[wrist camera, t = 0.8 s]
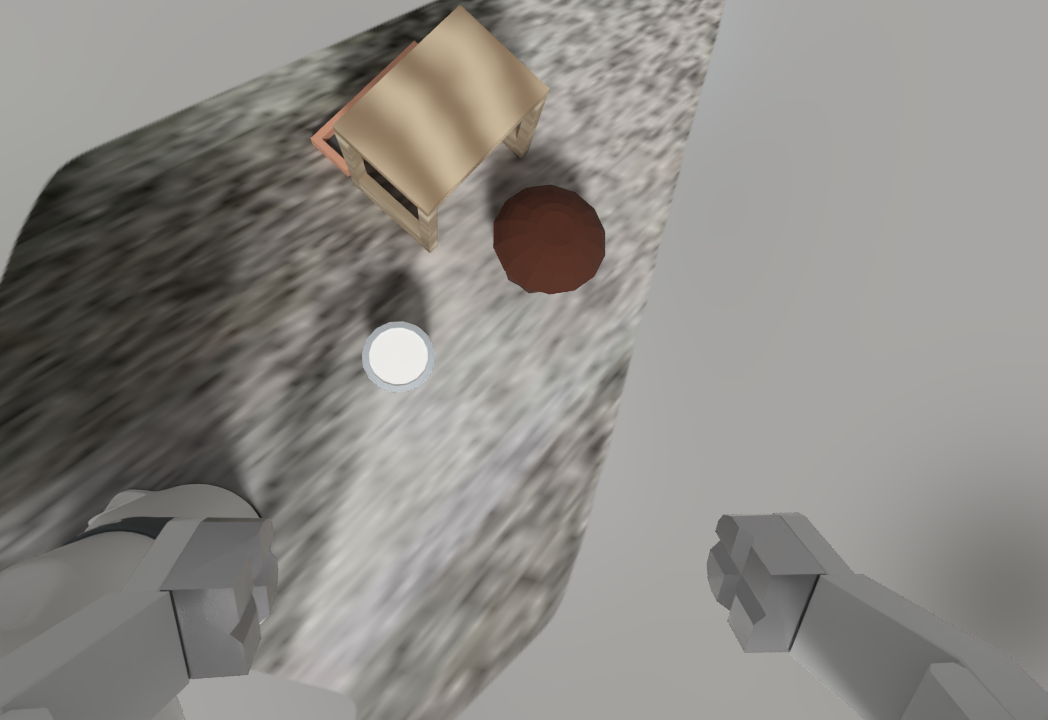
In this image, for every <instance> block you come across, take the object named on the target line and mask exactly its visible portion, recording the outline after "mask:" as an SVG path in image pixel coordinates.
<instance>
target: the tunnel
mask: <svg viewBox="0 0 1048 720" xmlns="http://www.w3.org/2000/svg"><path fill="white" fill-rule="evenodd" d="M548 92H549V88H548V87H547V86H546V85H545V84H544V83H543V82H542V81H541V80H539V79H538V78H537V77H536V76H535V75H534V74H533V73H532V72H531V71H530V70H529V69H528V68H527V67H526V66H525V65H524V64H523V63H521V62H520V61H519V60H518V59H517V58H516V57H515V56H514V55H513V54H512V53H511V52H510V51H509V50H508V49H507V48H506V47H505V46H503V45H502V44H501V43H500V42H499V41H498V40H497V39H496V38H495V37H494V36H493V35H492V34H491V33H490V32H489V31H488V30H487V29H485V28H484V27H483V26H482V25H481V24H480V23H479V22H478V21H477V20H476V19H475V18H474V17H473V16H472V15H471V14H470V13H469V12H467V11H466V10H465V9H464V8H463V7H462V6H461V5H459V6H458V7H457V8H456V9H455V10H454V11H453V12H452V13H451V14H450V15H449V16H447V17H446V18H445V19H444V20H443V21H442V22H441V23H440V24H439V25H438V26H437V27H436V28H435V29H434V30H433V31H432V32H431V33H429V34H428V35H427V36H426V37H425V38H424V39H423V40H422V41H421V42H420V43H419V44H418V45H417V46H416V47H415V48H414V49H413V50H412V51H410V52H409V53H408V54H407V55H406V56H405V57H404V58H403V59H402V60H401V61H400V62H399V63H398V64H397V65H396V66H395V67H394V68H392V69H391V70H390V71H389V72H388V73H387V74H386V75H385V76H384V77H383V78H382V79H381V80H380V81H379V82H378V83H377V84H376V85H375V86H373V87H372V88H371V89H370V90H369V91H368V92H367V93H366V94H365V95H364V96H363V97H362V98H361V99H360V100H359V101H358V102H357V103H356V104H354V105H353V106H352V107H351V108H350V109H349V110H348V111H347V112H346V113H345V114H344V115H343V116H342V117H341V118H340V119H339V120H338V121H336V122H335V123H334V124H333V125H332V127H333V130H334V133H335V135H336V138H337V141H338V143H339V146H340V148H341V151H342V154H343V156H344V159H345V162H346V164H347V167H348V169H349V172H350V175H351V177H352V180H353V183H354V185H355V186H357V187H358V188H359V189H360V190H361V191H362V192H363V193H364V194H365V195H366V196H368V197H369V198H370V199H371V200H372V201H373V202H374V203H375V204H376V205H378V206H379V207H380V208H381V209H382V210H383V211H384V212H385V213H386V214H387V215H389V216H390V217H391V218H392V219H393V220H394V221H395V222H396V223H397V224H398V225H400V226H401V227H402V228H403V229H404V230H405V231H406V232H407V233H408V234H409V235H411V236H412V237H413V238H414V239H415V240H416V241H417V242H418V243H419V244H420V245H422V246H423V247H424V248H425V249H426V250H427V251H428V252H429V253H430V252H431V251H432V250H433V249H434V248H435V247H436V246H437V207H438V206H439V205H440V204H441V203H442V202H443V201H444V200H445V199H446V198H447V197H448V196H449V195H450V194H451V193H452V192H453V191H454V190H455V189H456V188H457V187H458V186H459V185H460V184H461V183H462V182H463V181H464V180H465V178H466V177H467V176H468V175H469V174H470V173H471V172H472V171H473V170H474V169H475V168H476V167H477V166H478V165H479V164H480V163H481V162H482V161H483V160H484V159H485V158H486V157H487V156H488V155H489V154H490V153H491V152H492V151H493V150H494V149H495V148H496V147H497V146H498V145H499V144H500V143H501V142H503V143H504V144H505V145H506V146H507V147H508V148H510V149H511V150H512V151H513V152H514V153H515V154H516V155H517V156H518V157H519V158H520V159H521V158H522V157H523V156H524V155H525V154H526V153H527V152H528V149H529V146H530V143H531V140H532V138H533V135H534V132H535V129H536V126H537V123H538V120H539V117H540V115H541V112H542V109H543V106H544V103H545V100H546V97H547V94H548ZM521 121H522V122H521ZM520 122H521V125H520V128H519V127H518V126H517V125H518V124H519V123H520ZM362 157H363V158H364V159H365V160H366V161H367V162H368V163H369V164H370V165H371V166H372V167H374V168H375V169H376V170H377V171H378V172H379V173H380V174H381V175H382V176H383V177H385V178H386V179H387V180H388V181H389V182H390V183H391V184H392V185H393V186H394V187H396V188H397V189H398V190H399V191H400V192H401V193H402V194H403V195H404V196H405V197H406V198H408V199H409V200H410V201H411V202H412V203H413V204H414V205H415V206H416V207H417V208H418V215H419V220H418V219H417V218H415V217H414V216H413V215H412V214H411V213H410V212H409V211H408V210H407V209H406V208H404V207H403V206H402V205H401V204H400V203H399V202H398V201H397V200H396V199H395V198H394V197H392V196H391V195H390V194H389V193H388V192H387V191H386V190H385V189H384V188H383V187H381V186H380V185H379V184H378V183H377V182H376V181H375V180H374V179H373V178H372V177H370V176H369V175H368V174H367V172H366V169H365V166H364V163H363V159H362Z"/></svg>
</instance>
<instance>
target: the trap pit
mask: <svg viewBox="0 0 1048 720" xmlns="http://www.w3.org/2000/svg"><path fill="white" fill-rule="evenodd" d="M417 45H418V43H417V42H415V41H413V42H412V43H411V44H410V45H409V46H408V47H407V48H406V49H405V50H404V51H403V52H402V53H401V54H399V55H398V56H397V57H396V58H395V59H394V60H393V61H392V62H391V63H390V64H389V65H388V66H387V67H386V68H385V69H384V70H383V71H381V72H380V73H379V74H378V75H377V76H376V77H375V78H374V79H373V80H372V81H371V82H370V83H369V84H368V85H367V86H366V87H364V88H363V89H362V90H361V91H360V92H359V93H358V94H357V95H356V96H355V97H354V98H353V99H352V100H351V101H350V102H349V103H348V104H346V105H345V106H344V107H343V108H342V109H341V110H340V111H339V112H338V113H337V114H336V115H335V116H334V117H333V118H332V119H331V120H329V121H328V122H327V123H326V124H325V125H324V126H323V127H322V128H321V129H320V130H319V131H318V132H317V133H316V134H315V135H314V136H313V137H311V138H310V139H311V141H312V143H313V145H314V146H315V147H316V148H317V149H319V150H320V151H321V152H322V153H323V154H324V155H325V156H326V157H327V158H328V159H330V160H331V161H332V162H333V163H334V164H335V165H336V166H337V167H338V168H339V169H341V170H342V171H343V172H344V173H345V174H346V175H347V176H348V177H349V176H350V172H349V169H348V167H347V164H346V162H345V159H344V156H343V154H342V151H341V148H340V146H339V143H338V141H337V138H336V135H335V133H334V130H333V127H332V125H333V124H334V123H335V122H336V121H338V120H339V119H340V118H341V117H342V116H343V115H344V114H345V113H346V112H347V111H348V110H349V109H350V108H351V107H352V106H353V105H354V104H356V103H357V102H358V101H359V100H360V99H361V98H362V97H363V96H364V95H365V94H366V93H367V92H368V91H369V90H370V89H371V88H372V87H373V86H375V85H376V84H377V83H378V82H379V81H380V80H381V79H382V78H383V77H384V76H385V75H386V74H387V73H388V72H389V71H390V70H391V69H392V68H394V67H395V66H396V65H397V64H398V63H399V62H400V61H401V60H402V59H403V58H404V57H405V56H406V55H407V54H408V53H409V52H410V51H412V50H413V49H414V48H415V47H416V46H417ZM362 159H363V162H364V161H365V159H364V158H363V157H362Z"/></svg>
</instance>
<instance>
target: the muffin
mask: <svg viewBox="0 0 1048 720" xmlns="http://www.w3.org/2000/svg"><path fill="white" fill-rule="evenodd" d="M493 247H494V249H495V252H496V254H497V256H498V258H499V260H500V262H501V264H502V266H503V268H504V270H505V271H506V274H507V277H508V280H510V281H511V282H513V283H515V284H517V285H519V286H520V287H522V288H523V289H524V290H525V291H527V292H528V293H535V292H543V293H547V294H555V293H561V292H567V291H574V290H576V289H577V288H579V287H580V286H581V285H583V284H584V283H586V282H587V281H588V280H590V279H591V278H593V277H594V276H595V274H596V272H597V270H598V268H599V266H600V264H601V262H602V260H603V258H604V256H605V230H604V228H603V226H602V224H601V222H600V220H599V218H598V215H597V213H596V211H595V209H594V208H593V207H592V206H590V205H589V204H588V203H587V202H586V201H585V200H583V199H582V198H581V197H580V196H579V195H578V194H576V193H575V192H572V191H569V190H566V189H563V188H559V187H556V186H553V185H545V186H537V187H529V188H525V189H523V190H522V191H520V192H519V193H517V194H516V195H514V196H513V197H511V198H510V199H508V200H507V201H505V203H504V205H503V207H502V209H501V210H500V212H499V214H498V216H497V218H496V220H495V221H494V243H493Z"/></svg>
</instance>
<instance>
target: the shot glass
mask: <svg viewBox="0 0 1048 720" xmlns="http://www.w3.org/2000/svg"><path fill="white" fill-rule="evenodd" d="M362 359H363V367H364V369H365V371H366V373H367V375H368V377H369V379H370V380H371V381H373V382H374V383H375V384H376V385H377V386H379V387H380V388H382V389H385V390H388V391H391V392H405V391H410V390H412V389H414V388H416V387H418V386H420V385H421V384H422V383H423V382H424V381H425V380H426V379H427V378H428V376H429V375H430V374H431V371H432V368H433V365H434V362H435V356H434V347H433V345H432V343H431V341H430V339H429V337H428V335H427V334H426V333H425V332H424V331H422V330H421V329H420V328H419V327H418V326H416V325H413V324H410V323H407V322H404V321H401V322H389V323H387V324H384V325H382V326H380V327H378V328H376V329H375V330H374V331H373V333H372V334H371V335H370V336H369V337H368V338H367V340H366V342H365V345H364V348H363V351H362Z"/></svg>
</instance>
